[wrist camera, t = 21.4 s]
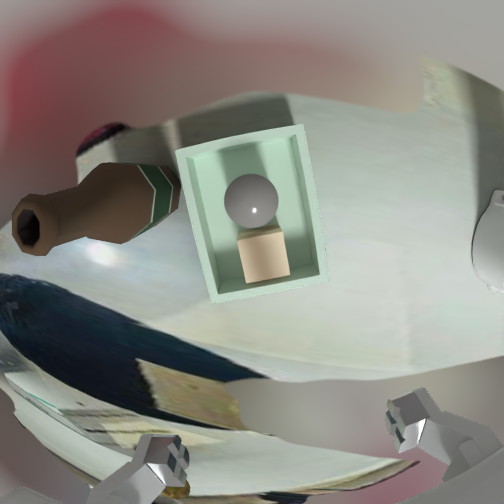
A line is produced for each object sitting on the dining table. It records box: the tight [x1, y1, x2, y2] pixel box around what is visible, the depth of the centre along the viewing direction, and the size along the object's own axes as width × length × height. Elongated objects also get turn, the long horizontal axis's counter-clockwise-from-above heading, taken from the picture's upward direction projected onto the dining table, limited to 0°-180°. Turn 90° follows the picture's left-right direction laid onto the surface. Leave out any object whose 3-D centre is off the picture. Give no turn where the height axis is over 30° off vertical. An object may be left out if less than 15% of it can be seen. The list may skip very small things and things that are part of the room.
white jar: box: [224, 174, 279, 228], centre depth 31 cm, size 5×5×8 cm
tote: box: [175, 124, 329, 304], centre depth 34 cm, size 14×18×5 cm
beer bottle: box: [12, 162, 181, 256], centre depth 24 cm, size 8×8×24 cm
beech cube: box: [237, 224, 290, 283], centre depth 34 cm, size 5×5×5 cm
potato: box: [161, 480, 190, 499], centre depth 47 cm, size 8×13×8 cm, turn 29°
